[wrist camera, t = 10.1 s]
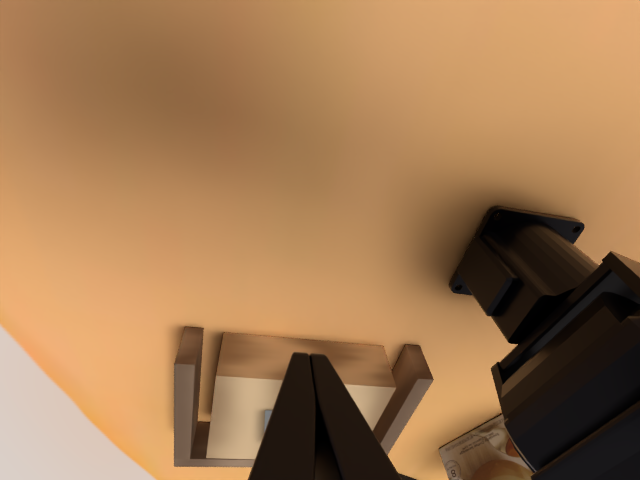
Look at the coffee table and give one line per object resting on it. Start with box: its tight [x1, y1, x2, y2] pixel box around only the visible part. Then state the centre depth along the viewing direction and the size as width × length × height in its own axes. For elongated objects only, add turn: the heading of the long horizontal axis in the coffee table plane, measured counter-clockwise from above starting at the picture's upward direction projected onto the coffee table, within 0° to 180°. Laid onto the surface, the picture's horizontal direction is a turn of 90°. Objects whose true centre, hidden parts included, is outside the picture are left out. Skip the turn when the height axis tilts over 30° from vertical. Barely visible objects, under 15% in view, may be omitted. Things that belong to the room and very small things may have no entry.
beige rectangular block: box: [206, 332, 396, 459], centre depth 27 cm, size 12×10×4 cm
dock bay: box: [174, 327, 434, 467], centre depth 28 cm, size 17×13×3 cm
